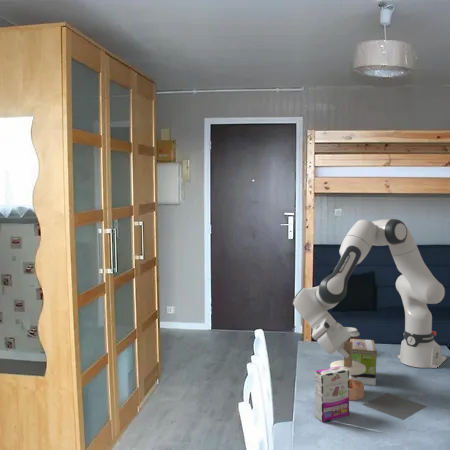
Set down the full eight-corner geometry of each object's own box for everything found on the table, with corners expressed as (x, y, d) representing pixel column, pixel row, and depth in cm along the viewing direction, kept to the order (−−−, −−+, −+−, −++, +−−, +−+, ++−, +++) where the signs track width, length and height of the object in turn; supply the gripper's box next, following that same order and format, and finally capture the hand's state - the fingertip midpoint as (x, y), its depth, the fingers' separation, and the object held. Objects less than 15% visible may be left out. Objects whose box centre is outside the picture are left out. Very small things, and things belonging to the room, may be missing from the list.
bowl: (344, 387, 201) (344, 376, 200) (368, 395, 192) (369, 384, 192) (326, 394, 194) (327, 383, 193) (351, 404, 185) (351, 392, 185)
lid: (336, 360, 201) (336, 335, 200) (369, 366, 195) (370, 340, 194) (325, 371, 190) (326, 344, 189) (360, 377, 183) (361, 350, 183)
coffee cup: (362, 353, 241) (363, 328, 240) (353, 358, 234) (353, 333, 233) (345, 349, 247) (345, 325, 246) (335, 354, 240) (335, 329, 239)
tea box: (376, 387, 201) (377, 350, 200) (350, 385, 203) (350, 348, 202) (373, 373, 216) (373, 339, 214) (348, 371, 218) (349, 337, 216)
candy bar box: (340, 410, 180) (341, 365, 179) (349, 416, 175) (350, 369, 174) (313, 416, 175) (313, 370, 174) (321, 422, 171) (322, 374, 170)
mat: (386, 394, 194) (386, 392, 194) (426, 407, 182) (426, 406, 182) (362, 406, 184) (362, 404, 184) (403, 421, 172) (403, 419, 171)
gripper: (327, 324, 206) (351, 352, 202) (310, 337, 188) (335, 368, 184) (338, 314, 203) (362, 342, 199) (322, 327, 185) (348, 358, 181)
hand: (349, 355), depth 191 cm, fingers closed on lid, 2 cm apart
